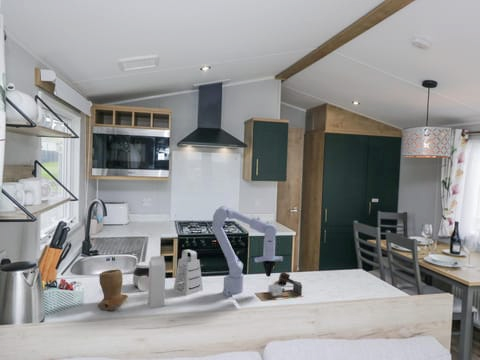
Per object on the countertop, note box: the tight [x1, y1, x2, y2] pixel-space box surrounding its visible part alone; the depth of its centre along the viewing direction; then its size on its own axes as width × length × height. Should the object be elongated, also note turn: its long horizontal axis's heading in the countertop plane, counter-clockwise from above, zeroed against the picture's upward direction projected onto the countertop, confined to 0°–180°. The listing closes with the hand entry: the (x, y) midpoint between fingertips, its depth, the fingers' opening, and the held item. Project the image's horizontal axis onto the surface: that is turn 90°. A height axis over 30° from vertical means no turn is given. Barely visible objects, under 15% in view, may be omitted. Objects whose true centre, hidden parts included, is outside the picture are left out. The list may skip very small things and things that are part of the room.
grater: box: [173, 248, 204, 296], centre depth 166 cm, size 10×10×20 cm
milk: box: [147, 255, 166, 309], centre depth 147 cm, size 6×6×22 cm
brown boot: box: [97, 268, 129, 312], centre depth 145 cm, size 15×12×15 cm
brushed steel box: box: [267, 284, 286, 297], centre depth 159 cm, size 7×7×4 cm
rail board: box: [254, 280, 304, 302], centre depth 161 cm, size 22×10×6 cm, turn 109°
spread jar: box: [132, 261, 150, 292], centre depth 167 cm, size 12×11×12 cm
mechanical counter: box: [277, 271, 302, 285], centre depth 178 cm, size 7×13×10 cm
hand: (268, 275), depth 162 cm, fingers closed
